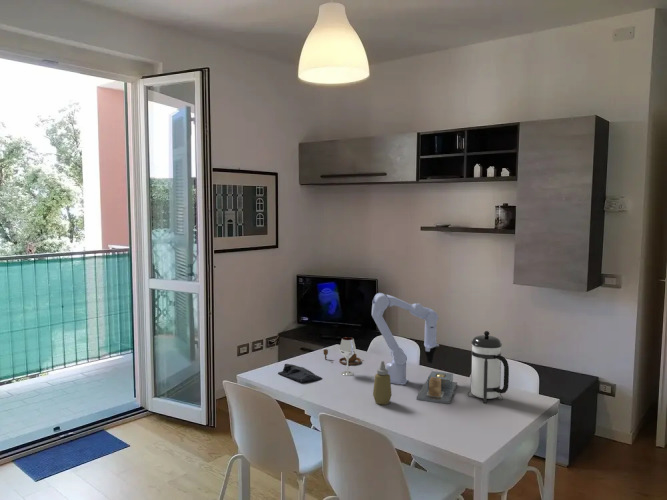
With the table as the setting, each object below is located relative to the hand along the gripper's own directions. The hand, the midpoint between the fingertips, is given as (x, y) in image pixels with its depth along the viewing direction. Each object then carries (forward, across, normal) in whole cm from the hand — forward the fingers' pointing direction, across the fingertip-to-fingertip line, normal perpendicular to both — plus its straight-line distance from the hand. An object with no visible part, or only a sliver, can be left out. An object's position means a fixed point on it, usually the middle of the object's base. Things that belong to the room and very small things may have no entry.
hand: (430, 362), depth 242 cm
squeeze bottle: (+10, -35, +14) cm, 39 cm away
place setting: (+10, +17, +50) cm, 54 cm away
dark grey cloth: (+10, -16, +62) cm, 65 cm away
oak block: (+8, -19, -6) cm, 21 cm away
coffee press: (+10, -13, -28) cm, 32 cm away
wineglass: (+10, -4, +41) cm, 42 cm away
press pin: (+7, -5, -6) cm, 11 cm away
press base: (+9, -13, -6) cm, 17 cm away
